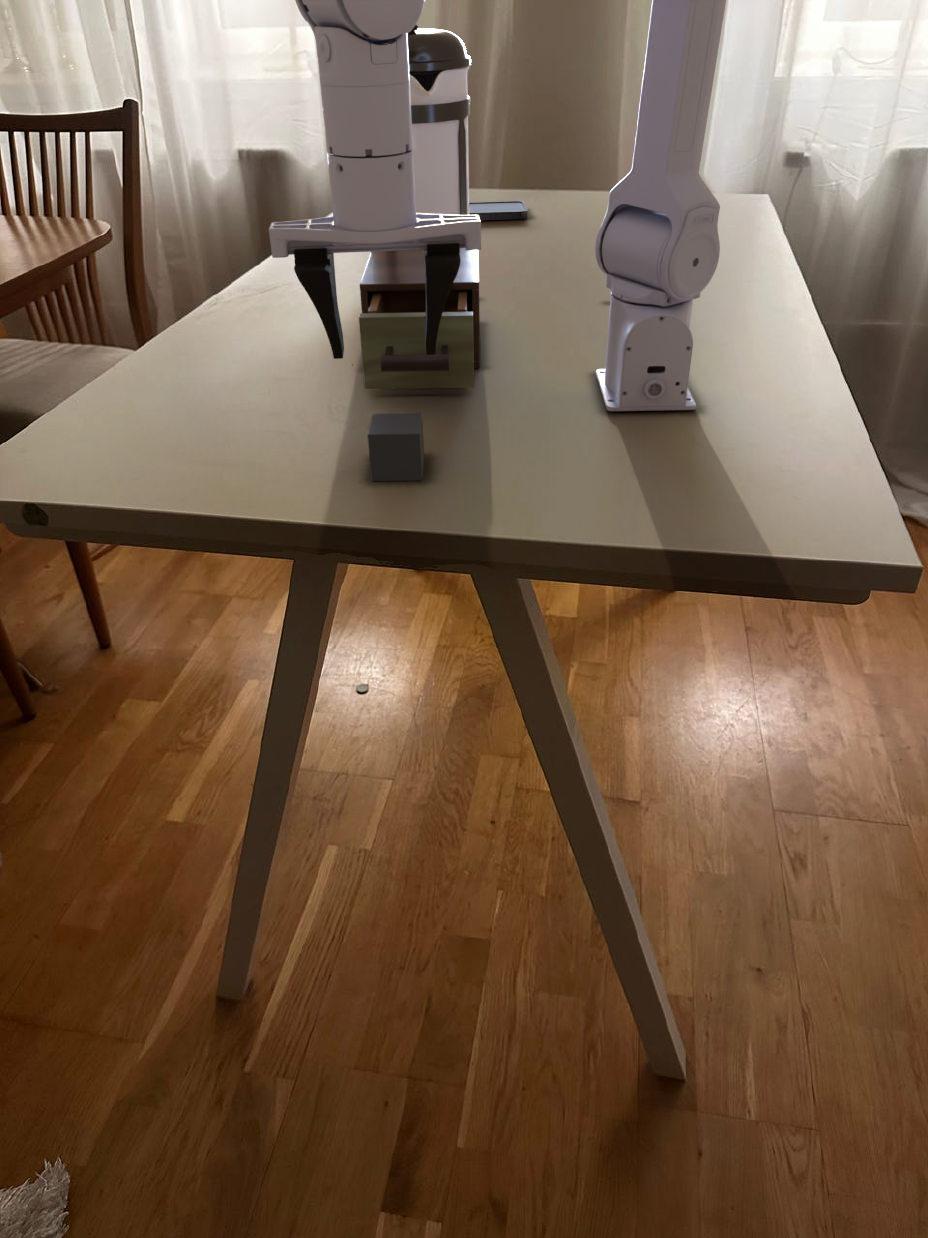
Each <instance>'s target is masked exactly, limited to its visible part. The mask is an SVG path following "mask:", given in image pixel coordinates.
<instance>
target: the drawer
mask: <svg viewBox="0 0 928 1238" xmlns="http://www.w3.org/2000/svg"><path fill="white" fill-rule="evenodd" d="M425 315H426V290H421V291H374V294H373V297H372V300H371V304H370V307H369V310H368V313H364V314H362V313H359V317H358V326H359V335H360V348H361V358H362V370H363V371H362V373H363V381H364V383H363V384H364V390H400V389H402V390H406V389H411V390H413V389H460V388H461V389H467V388H470V389H471V388H475V368H474V348H473V312H468V305H467V290H450V292H449V294H448V297H447V300H446V303H445V306H444V309H443V313H442V316H441V320H440V324H439V329H438V334H437V341H436V354H434V355H426V344H425Z"/></svg>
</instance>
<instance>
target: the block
mask: <svg viewBox="0 0 928 1238" xmlns="http://www.w3.org/2000/svg"><path fill="white" fill-rule="evenodd" d="M423 422H424V421H423V413H422V412H409V413H408V412H404V413H403V412H402V413H398V412H397V413H396V412H395V413H372V414H371V418H370V422H369V428H368V431H367V442H368V443H367V444H368V454H369V455H368V456H369V466H370V476H371V477H370V480H371V482H408V481H409V482H412V481H414V482H415V481H416V482H417V481H419V482H420V481H422V480H423V476H424V466H425V443H424V440H425V439H424V425H423V424H424V423H423Z"/></svg>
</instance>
